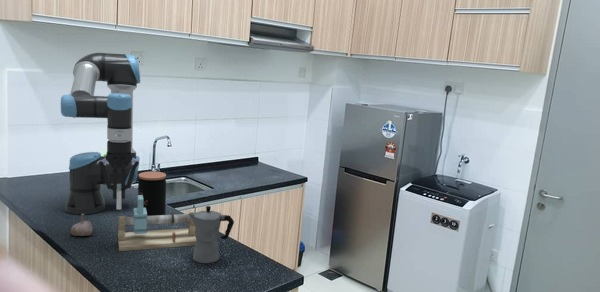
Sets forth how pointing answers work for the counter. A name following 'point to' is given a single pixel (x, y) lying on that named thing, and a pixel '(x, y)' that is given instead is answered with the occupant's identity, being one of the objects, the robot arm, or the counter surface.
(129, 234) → the pipe stand
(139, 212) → the collar
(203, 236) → the coffeepot
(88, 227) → the garlic bulb
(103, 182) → the robot arm
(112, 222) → the counter surface
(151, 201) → the coffee jar
